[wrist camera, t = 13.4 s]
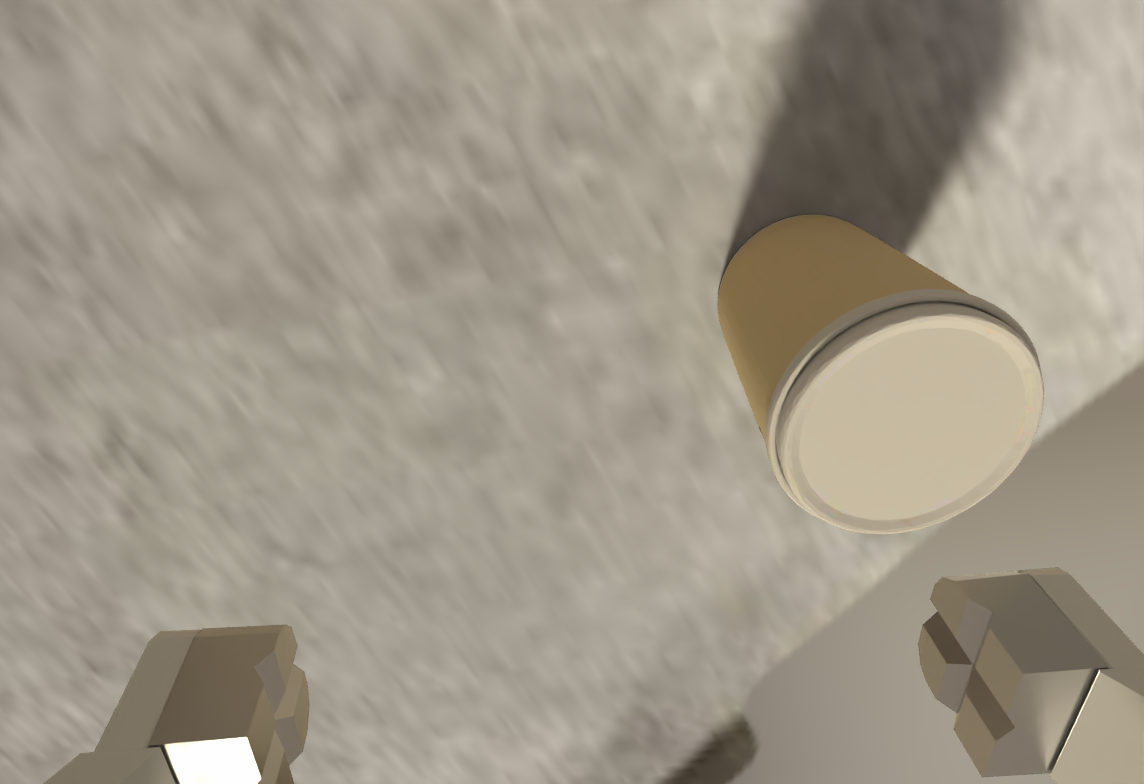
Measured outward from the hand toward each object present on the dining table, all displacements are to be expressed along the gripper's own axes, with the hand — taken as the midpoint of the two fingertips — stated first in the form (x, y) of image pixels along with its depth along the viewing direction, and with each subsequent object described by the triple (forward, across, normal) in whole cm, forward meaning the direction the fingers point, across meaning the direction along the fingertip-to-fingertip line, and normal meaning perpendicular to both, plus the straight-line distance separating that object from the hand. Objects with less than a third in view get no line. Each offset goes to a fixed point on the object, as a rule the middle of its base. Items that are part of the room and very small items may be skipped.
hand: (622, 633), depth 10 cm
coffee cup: (+26, -12, +7) cm, 30 cm away
